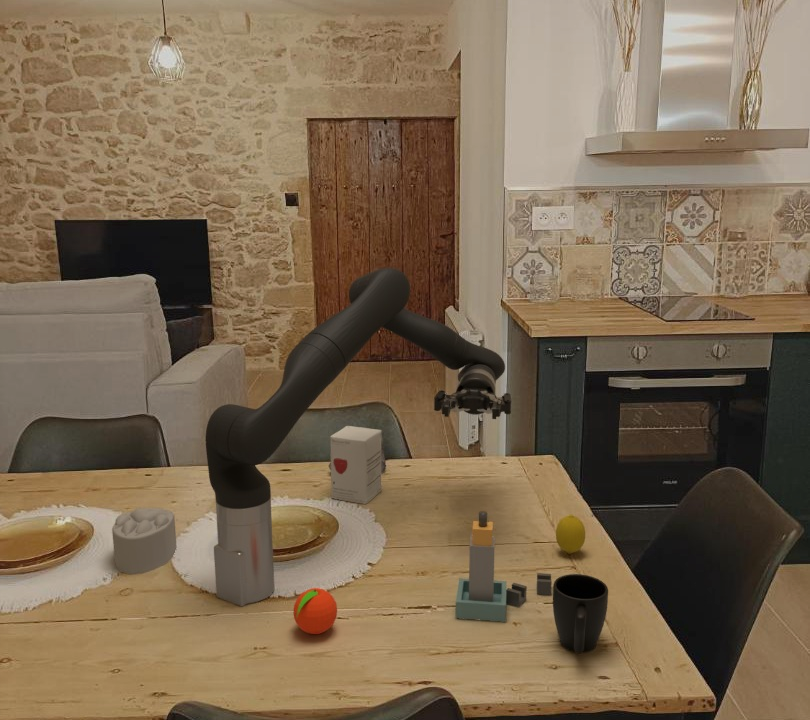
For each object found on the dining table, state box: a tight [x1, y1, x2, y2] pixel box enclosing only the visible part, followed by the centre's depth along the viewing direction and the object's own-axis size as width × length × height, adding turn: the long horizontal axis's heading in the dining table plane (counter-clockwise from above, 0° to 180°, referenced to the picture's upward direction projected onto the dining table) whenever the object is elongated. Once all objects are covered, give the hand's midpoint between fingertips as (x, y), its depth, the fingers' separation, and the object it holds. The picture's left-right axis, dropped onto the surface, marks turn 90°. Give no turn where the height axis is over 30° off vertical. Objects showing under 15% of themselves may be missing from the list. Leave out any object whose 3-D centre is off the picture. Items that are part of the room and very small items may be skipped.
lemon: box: [555, 514, 586, 555], centre depth 154 cm, size 6×6×8 cm
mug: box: [552, 573, 609, 654], centre depth 122 cm, size 8×12×10 cm
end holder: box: [455, 577, 508, 623], centre depth 135 cm, size 8×8×3 cm
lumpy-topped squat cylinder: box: [111, 507, 177, 575], centre depth 152 cm, size 10×13×9 cm
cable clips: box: [506, 572, 553, 608], centre depth 138 cm, size 9×5×2 cm, turn 147°
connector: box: [468, 510, 496, 602], centre depth 133 cm, size 4×4×16 cm
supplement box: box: [330, 425, 383, 505], centre depth 182 cm, size 9×9×15 cm
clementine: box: [293, 587, 338, 635], centre depth 127 cm, size 8×7×7 cm
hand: (470, 412), depth 144 cm, fingers open, 8 cm apart
